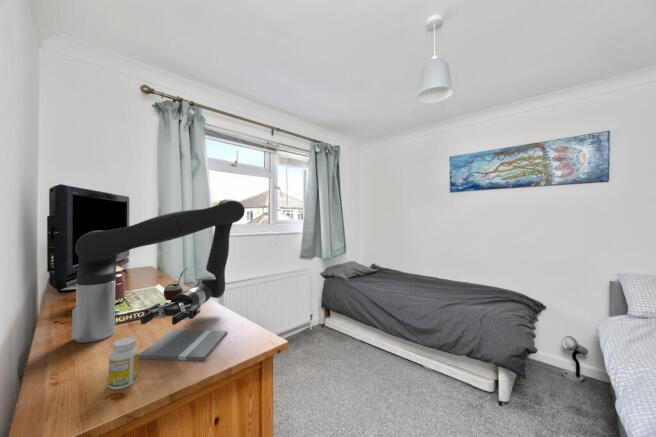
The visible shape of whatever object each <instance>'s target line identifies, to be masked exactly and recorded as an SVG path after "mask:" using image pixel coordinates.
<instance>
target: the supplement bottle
mask: <svg viewBox="0 0 656 437" xmlns="http://www.w3.org/2000/svg"><path fill="white" fill-rule="evenodd" d="M135 345H136V338H134V337H124V338H121V339H117V340H116V341H114V343H113V347H112V348H113V349H112V350H113V351H112V352H111V353H110V354H109V356H108V357H109V359H108V388H109V389H110V390H114V391H115V390H117V391H118V390H121V389H122V390H123V389H125V388H127V387H130V386H132V385H133V384H134V383H136V381H137V379H138V372H139V359H138V354H139V349H138V347H137V346H135Z"/></svg>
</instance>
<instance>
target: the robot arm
mask: <svg viewBox="0 0 656 437" xmlns="http://www.w3.org/2000/svg"><path fill="white" fill-rule="evenodd" d="M244 216H245V206H244V205H243V204H242V203H241V202H240V201H238V200H236V199H230V198H229V199H227V198H225V199H223V200H220V201H219V202H218V204H216V205H214V206H209V207H206V208H199V209H196V208H195V209H187V210H180V211H174V212H169V213H166V214H162V215H158V216H155V217H151V218H148V219H146V220H143V221H140V222H138V223H135V224H133V225H128V226H125V227H124V226H123V227H118V228H113V229H107V230H98V229H97V230H92V231H91V230H90V231H88V232H86V233H84V234H83V235H82V236H80V237H79V238H78V239H77V240H76V243H75V247H74V250H75V254H76V255H77V256H78V266H77V272H76V278H75V280H76V287H75V290H76V291H75V294H76V295H75V307H74V308H73V309H72V310H71V311H72V312H71V315H72V316H71V322H72V323H71V326H72V327H71V341H75V342H77V343H92V342H97V341H101V340H103V339H106V338H108V337H111V336H113V334H114V333H115V322H116V320H115V314H116V311H115V310H116V305H115V277H116V266H117V255H120V254H123V253H125V252H128V251H130V250H134V249H137V248H141V247H145V246H151V245H155V244H160V243H164V242H169V241H172V240H176V239H179V238H183V237H185V236H189V235H192V234H194V233H197V232H201V231H204V230H206V229H210V228H212V227H214V232H213V238H212V243H211V248H210V250H209V254H208V258H207V263H206V271H207V272H208V273H210V274H212V275H213V276H214V277H215V278H213V277H207V276H204V277H201V278H200V279H199V280H198V281H197V283H196V284H195V285H194V286H193V287H191V288H188V289H186V290H183V291H182V293H180V294H178V295H176V296H175V297H174V298H173V299H172V300H171V302H170V303H168V304H166V303H165V304H163V305H162V304H161V303H155V304H153V305H151V306H149V307H148V308H145V309H144V310H143V313H144V314H142V316H140V324H141V325H145V324H147V323H149V322H151V321H153V320H155V319H165V318H167V317H170V318H171V324H172V325H173V326H174V325H175V326H176V325H177V324H179V323H180V322H182V321H185V320H186V319H188V320H193V319H194V318H195V317H197V316H198V315H199V314H200V313H201V307H202V306H203V305H204V304H205V303H207V302H208V301H209V300H210V298H214V299H219V298H221V297H222V296H223V295H224V293H225V290H226V266H227V262H228V259H229V251H230V235H231V230H232V227H233V226H232V225H233V224H234V223H237V222H239V221H241V220H242V219H243V217H244ZM162 313H163V314H162Z"/></svg>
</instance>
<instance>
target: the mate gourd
mask: <svg viewBox="0 0 656 437" xmlns="http://www.w3.org/2000/svg"><path fill="white" fill-rule="evenodd" d="M186 270H188V267H186V268H185V269H184V270H182V272H181V273H180V274H179V275H180V276H179V277H178V278H179V279H178V281H177V283H170V284H167V285H166V286H165V288H164V290H163V297H164V300H165V301H166V300H172V299H173V298H174V297H175V296H176V295H178V294H180V293H182V292H184V289H183V286H182V285H181V284H179V283H180V281H181V278H182V277H183V275H184V273H185V271H186Z"/></svg>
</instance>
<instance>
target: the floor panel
mask: <svg viewBox="0 0 656 437" xmlns="http://www.w3.org/2000/svg"><path fill="white" fill-rule="evenodd" d="M227 335H228V330H211V329H210V330H209V329H208V330H205V329H172V330H170V331H169V332H167V333H166V334H165V335H163V336H161V338H158V340H155V342H153V343H152V344H151V345H149V346H148V347H146V348H145V349H144V350H142V351H141V352H139V353H138V360H168V361H169V360H173V361H175V360H176V361H177V360H178V361H202V362H203V361H205V360H206V359H207V358H208V357H209V356H210V355H211V354H212V353H213V351H214V350H215V349H216V347H217V346H218V345H219V344H220V343H221V341H222V340H223V339H224V338H225V337H227Z"/></svg>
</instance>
